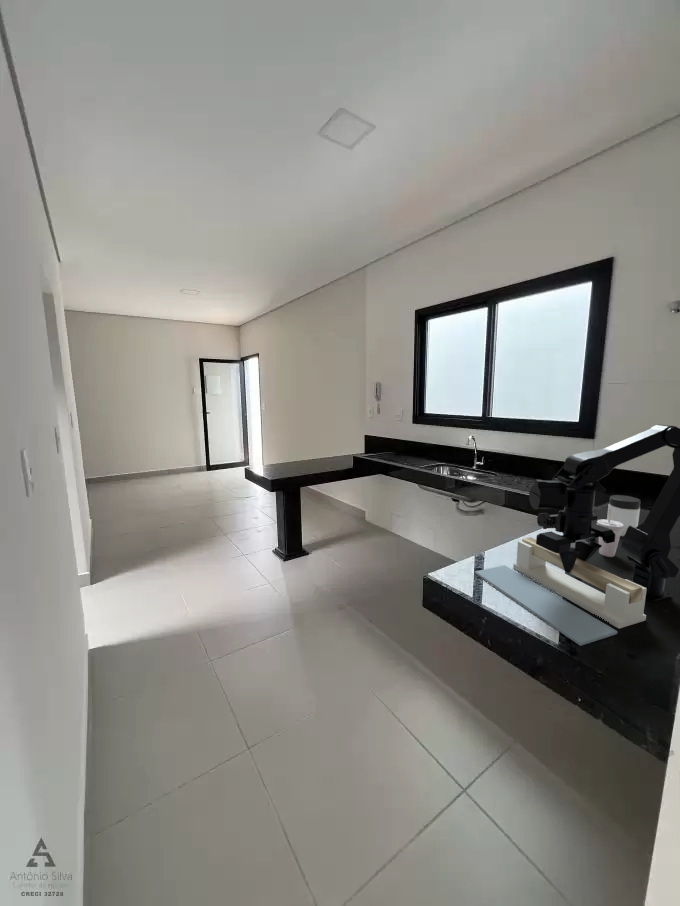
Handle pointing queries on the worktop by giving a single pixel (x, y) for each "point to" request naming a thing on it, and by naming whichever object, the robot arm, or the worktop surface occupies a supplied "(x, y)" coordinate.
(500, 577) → the mat
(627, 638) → the worktop surface
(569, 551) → the robot arm
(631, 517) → the jar
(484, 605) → the worktop surface
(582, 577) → the rail
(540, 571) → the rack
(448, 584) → the worktop surface
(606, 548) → the smoothie
